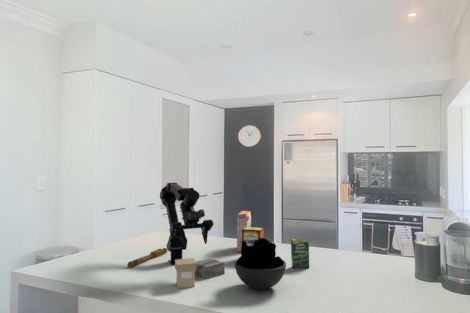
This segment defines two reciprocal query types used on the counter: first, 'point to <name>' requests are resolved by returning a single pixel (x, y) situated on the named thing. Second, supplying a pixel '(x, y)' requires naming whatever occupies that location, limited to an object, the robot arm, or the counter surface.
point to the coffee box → (300, 253)
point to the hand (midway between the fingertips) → (196, 244)
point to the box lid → (185, 265)
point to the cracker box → (242, 226)
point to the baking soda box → (252, 235)
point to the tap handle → (147, 257)
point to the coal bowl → (260, 265)
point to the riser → (209, 268)
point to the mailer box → (186, 279)
